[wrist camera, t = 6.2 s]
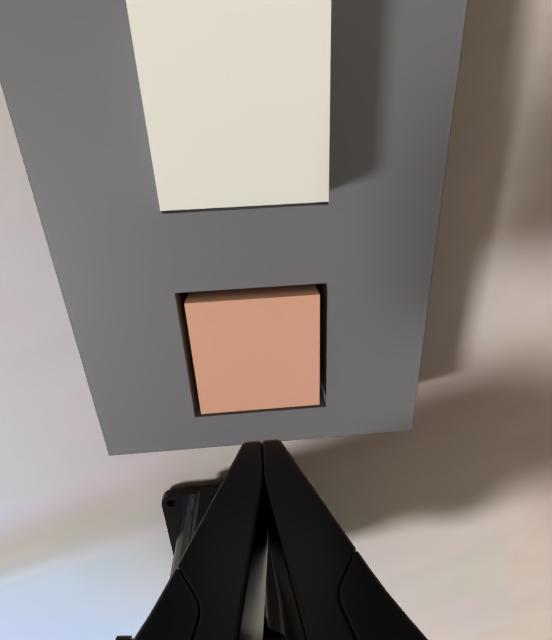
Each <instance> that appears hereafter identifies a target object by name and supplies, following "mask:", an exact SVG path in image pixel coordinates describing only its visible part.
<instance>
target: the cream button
mask: <svg viewBox="0 0 552 640" xmlns="http://www.w3.org/2000/svg"><path fill="white" fill-rule="evenodd" d="M126 5H127V11H128V17H129V23H130V29H131V36H132V42H133V48H134V54H135V60H136V66H137V72H138V78H139V85H140V91H141V97H142V103H143V109H144V115H145V121H146V127H147V133H148V140H149V146H150V152H151V158H152V164H153V170H154V176H155V182H156V188H157V195H158V201H159V207H160V211H170V210H188V209H206V208H224V207H242V206H260V205H278V204H296V203H314V202H329V139H330V59H331V0H126Z"/></svg>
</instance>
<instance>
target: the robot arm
mask: <svg viewBox="0 0 552 640" xmlns="http://www.w3.org/2000/svg"><path fill="white" fill-rule="evenodd" d="M162 508H163V512H164V516H165V521H166V525H167V529H168V533H169V538H170V542H171V546H172V551H173V555H174V557H173V563H172V569H171V575H170V579H169V581H168V583H167V585H166V587H165V589H164V590H163V592H162V594H161V596H160V597H159V599H158V601H157V602H156V604H155V606H154V608H153V609H152V611H151V613H150V615H149V616H148V618H147V619H146V621H145V622H144V624H143V626H142V627H141V629H140V630H139V632H138V633H137V635H136V636H135V638H134V639H132V636H117V637H116V640H428V639H427V638H426V637H425V636H424V634H423V633H422V632H421V631H420V630H419V629H418V628H417V626H416V625H415V624H414V623H413V622H412V621H411V620H410V618H409V617H408V616H407V615H406V614H405V612H404V611H403V610H402V609H401V608H400V606H399V605H398V604H397V603H396V602H395V600H394V599H393V598H392V597H391V596H390V594H389V593H388V592H387V591H386V589H385V588H384V587H383V585H382V584H381V583H380V581H379V580H378V579H377V577H376V576H375V575H374V573H373V572H372V571H371V569H370V568H369V567H368V565H367V564H366V562H365V561H364V559H363V558H362V556H361V555H360V554H359V552H357V551H356V548H355V547H354V545H353V544H352V542H351V541H350V540H349V538H348V537H347V535H346V534H345V532H344V531H343V530H342V528H341V527H340V525H339V524H338V522H337V521H336V519H335V518H334V517H333V515H332V514H331V512H330V511H329V509H328V508H327V507H326V505H325V504H324V502H323V501H322V499H321V498H320V497H319V495H318V494H317V492H316V491H315V489H314V488H313V486H312V485H311V484H310V482H309V481H308V479H307V478H306V476H305V475H304V474H303V472H302V471H301V469H300V468H299V466H298V465H297V464H296V462H295V461H294V459H293V458H292V456H291V455H290V454H289V452H288V451H287V449H286V448H285V446H284V445H283V443H282V442H281V441H280V440H279V439H271V440H264V441H263V442H262V443H261V441H247V442H244V443H243V445H242V446H241V448H240V450H239V452H238V454H237V456H236V458H235V459H234V461H233V463H232V465H231V467H230V469H229V471H228V472H227V474H226V476H225V478H224V480H223V482H222V483H221V485H217V486H206V487H195V488H183V489H172V490H168V491H166V492H165V493H164V495H163V499H162Z"/></svg>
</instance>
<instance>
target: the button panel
mask: <svg viewBox="0 0 552 640" xmlns="http://www.w3.org/2000/svg"><path fill="white" fill-rule="evenodd" d="M466 7H467V0H331V59H330V139H329V202H314V203H296V204H278V205H260V206H242V207H224V208H206V209H188V210H170V211H160V207H159V201H158V195H157V188H156V182H155V176H154V170H153V164H152V158H151V152H150V146H149V140H148V133H147V127H146V121H145V115H144V109H143V103H142V97H141V91H140V85H139V78H138V72H137V66H136V60H135V54H134V48H133V42H132V36H131V29H130V23H129V17H128V11H127V5H126V0H0V83H1V86H2V89H3V93H4V96H5V100H6V103H7V107H8V110H9V113H10V117H11V120H12V124H13V127H14V131H15V134H16V137H17V141H18V144H19V148H20V151H21V155H22V158H23V162H24V165H25V168H26V172H27V175H28V179H29V182H30V186H31V189H32V192H33V196H34V199H35V203H36V206H37V210H38V213H39V216H40V220H41V223H42V227H43V230H44V234H45V237H46V240H47V244H48V247H49V251H50V254H51V258H52V261H53V264H54V268H55V271H56V275H57V278H58V282H59V285H60V289H61V292H62V295H63V299H64V302H65V306H66V309H67V313H68V316H69V319H70V323H71V326H72V330H73V333H74V337H75V340H76V343H77V347H78V350H79V354H80V357H81V361H82V364H83V367H84V371H85V374H86V378H87V381H88V385H89V388H90V391H91V395H92V398H93V402H94V405H95V409H96V412H97V416H98V419H99V422H100V426H101V429H102V433H103V436H104V440H105V443H106V446H107V450H108V453H109V456H111V455H123V454H135V453H147V452H159V451H171V450H183V449H195V448H206V447H218V446H230V445H242V444H243V443H244V442H247V441H261V443H262V442H263V441H264V440H271V439H279V440H280V441H290V440H302V439H313V438H325V437H337V436H349V435H361V434H373V433H385V432H397V431H409V430H412V425H413V417H414V409H415V401H416V394H417V386H418V378H419V371H420V363H421V355H422V347H423V340H424V332H425V324H426V316H427V309H428V301H429V293H430V285H431V278H432V270H433V262H434V254H435V247H436V239H437V231H438V223H439V216H440V208H441V200H442V192H443V185H444V177H445V169H446V161H447V154H448V146H449V138H450V131H451V123H452V115H453V107H454V100H455V92H456V84H457V76H458V69H459V61H460V53H461V45H462V38H463V30H464V22H465V14H466ZM305 284H315V286H316V288H317V290H318V292H319V294H320V394H319V405H308V406H296V407H283V408H271V409H258V410H246V411H233V412H221V413H208V414H201V410H200V403H199V397H198V390H197V383H196V377H195V370H194V364H193V357H192V351H191V344H190V338H189V331H188V325H187V318H186V312H185V305H184V303H185V300H186V298H187V295H188V293H189V292H198V291H213V290H229V289H244V288H259V287H274V286H290V285H305Z"/></svg>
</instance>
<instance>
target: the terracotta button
mask: <svg viewBox="0 0 552 640" xmlns="http://www.w3.org/2000/svg"><path fill="white" fill-rule="evenodd" d="M184 305H185V312H186V318H187V325H188V331H189V338H190V344H191V351H192V357H193V364H194V370H195V377H196V383H197V390H198V397H199V403H200V410H201V414H208V413H221V412H233V411H246V410H258V409H271V408H283V407H296V406H308V405H319V394H320V294H319V292H318V290H317V288H316V286H315V284H305V285H290V286H274V287H259V288H244V289H229V290H213V291H198V292H189V293H188V295H187V298H186V300H185V303H184Z"/></svg>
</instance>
